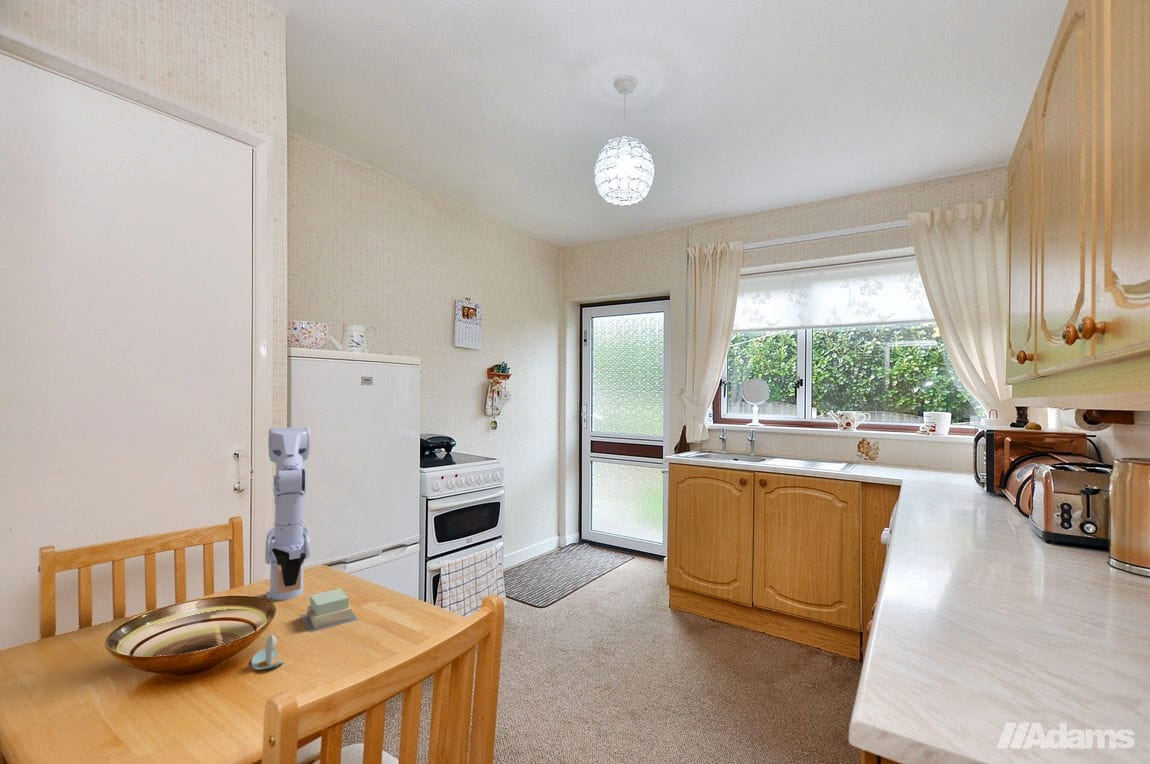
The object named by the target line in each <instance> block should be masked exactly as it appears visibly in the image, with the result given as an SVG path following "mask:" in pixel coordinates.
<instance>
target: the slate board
mask: <svg viewBox="0 0 1150 764" xmlns="http://www.w3.org/2000/svg"><path fill="white" fill-rule="evenodd" d="M299 617H301V620H302V621H303V623H304V625H305V626H306V628H307V629H308V632H309V633H314V632H317V631H321V630H325V629H328V628H332V627H336V626H340V625H344V624H347V623H350V622H355V621H358V620H359V619H358V617H357V616H356V615H355V614H354V612H352V610H351V619H349V620H345V621H341V622H338V623H334V624H330V625H326V626H323V627H319V628H314V626H313V625H312V623H311V622H310V620H309V618H308V617H307V613H305V614H301V615H300V616H299Z"/></svg>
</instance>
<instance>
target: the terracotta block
mask: <svg viewBox="0 0 1150 764" xmlns="http://www.w3.org/2000/svg"><path fill="white" fill-rule="evenodd" d="M275 588H276V590H277V592H278V594H280V593H284V592H289V591H294V590H299V589H301V567H300V570H299V574H298V578H297V582H296V584H295V585H292V586H287V587H285V585H284V581H283V574H282V569H281V566H280V565H276V570H275Z"/></svg>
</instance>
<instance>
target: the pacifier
mask: <svg viewBox="0 0 1150 764" xmlns="http://www.w3.org/2000/svg"><path fill="white" fill-rule="evenodd" d="M277 643H278V640H277V637H276V636H275V635H274V634H273V635H272V634H270V635H269V636H268V637H267V639H266V642H265V645H264V647H265V648H263V649H261V650H259V651H257V652H256V653H255V654H254V655H253V657H252V659H251V668H252V669H253V670H256V671H257V670H258V671H259V670H260V671H261V670H262V671H263V670H269V669H271V668H274V667H277V666H279V665H282V664H283V663H284V660H283V659H282V660H281V659H280V660H278V661H277V662H275V663H273V661H274V659H276V658H277V659H279V653H278V652H277V650H275V649H276V647H277ZM273 658H274V659H273ZM263 661H265V663H266V666H258V665H259V664H261V662H263Z"/></svg>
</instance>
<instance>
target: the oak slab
mask: <svg viewBox="0 0 1150 764" xmlns="http://www.w3.org/2000/svg"><path fill="white" fill-rule="evenodd" d="M351 611H352V607H351V606H350V604H348V609H344V610H340V611H336V612H332V613H328V614H324V615H320V616H317V615H316V614H315V612H314V611H313V609H312V608H311V606H310V604H308V605H307V606H306V614H307V617H308V618H309V620H310V622H311V623H312V625H313V626H314V628H319V627H323V626H326V625H330V624H334V623H338V622H341V621H345V620H349V619H351Z"/></svg>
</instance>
